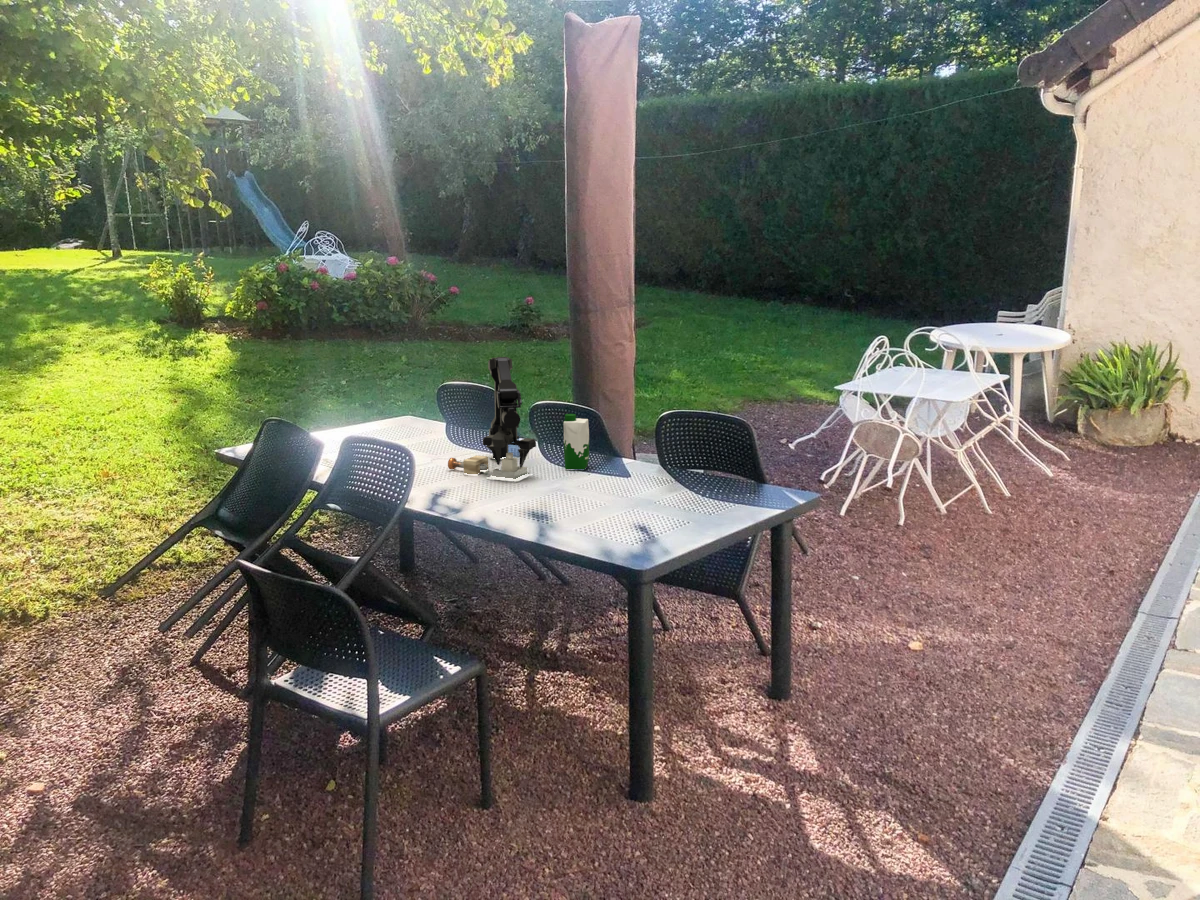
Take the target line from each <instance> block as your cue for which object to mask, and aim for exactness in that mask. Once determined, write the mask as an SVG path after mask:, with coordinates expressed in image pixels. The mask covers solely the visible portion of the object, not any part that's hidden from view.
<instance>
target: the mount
mask: <svg viewBox="0 0 1200 900" xmlns="http://www.w3.org/2000/svg"><path fill="white" fill-rule="evenodd" d="M462 462H463V463H464V468H463V474H464V473H467V474H478V473H480V474H481V472H480V464H486V465H487V469H489V456H487V455H486V456H484V455H473V456H471V457H469V458H466V459H464V460H463V461H462Z"/></svg>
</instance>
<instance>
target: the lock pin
mask: <svg viewBox="0 0 1200 900" xmlns="http://www.w3.org/2000/svg"><path fill="white" fill-rule="evenodd" d="M447 467H448V469H449V470H452V469H454V470H456V468H458V469H459V468H461V469H464V463H463V461H461V460H460V461H458V460H457V459H456V458H455V457H450V458H449V459H448V461H447ZM480 470H487V465H486V464H480Z"/></svg>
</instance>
